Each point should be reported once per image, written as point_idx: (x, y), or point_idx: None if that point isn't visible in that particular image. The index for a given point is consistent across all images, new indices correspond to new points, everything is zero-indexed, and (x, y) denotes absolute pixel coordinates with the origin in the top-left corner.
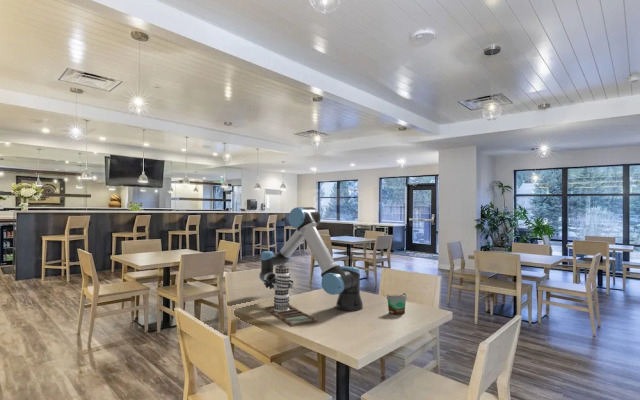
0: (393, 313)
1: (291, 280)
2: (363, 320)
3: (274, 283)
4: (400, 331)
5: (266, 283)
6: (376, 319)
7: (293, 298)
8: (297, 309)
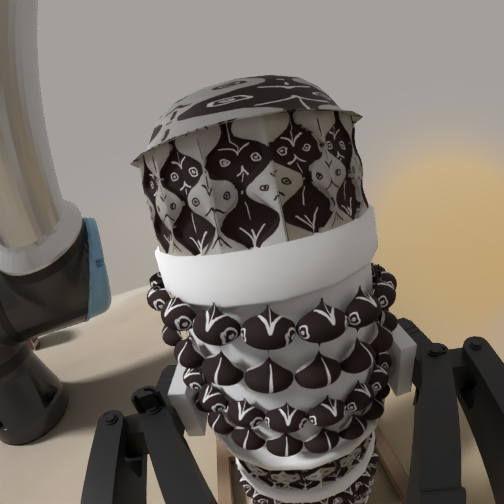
0: (38, 342)
1: (94, 445)
2: (111, 334)
3: (385, 368)
4: (121, 297)
5: (479, 338)
6: (87, 334)
7: None
8: (221, 448)
